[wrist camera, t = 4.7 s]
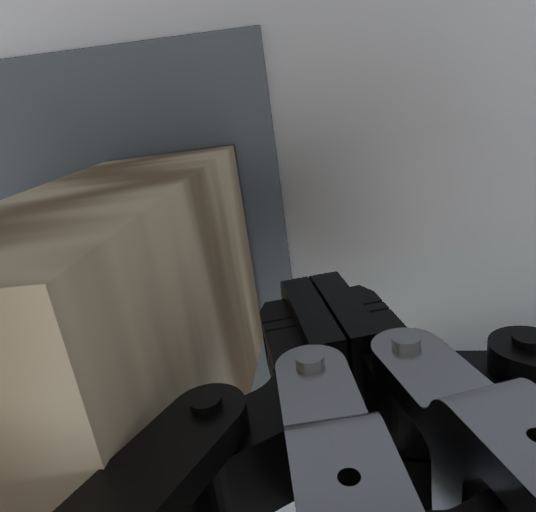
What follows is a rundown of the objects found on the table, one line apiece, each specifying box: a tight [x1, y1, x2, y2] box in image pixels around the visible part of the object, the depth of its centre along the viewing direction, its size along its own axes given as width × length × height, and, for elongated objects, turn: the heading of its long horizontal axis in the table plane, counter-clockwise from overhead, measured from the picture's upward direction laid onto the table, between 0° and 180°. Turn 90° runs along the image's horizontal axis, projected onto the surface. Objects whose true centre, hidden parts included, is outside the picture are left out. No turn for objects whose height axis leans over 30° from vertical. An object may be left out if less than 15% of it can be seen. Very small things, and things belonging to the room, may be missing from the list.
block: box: [0, 144, 263, 512], centre depth 13 cm, size 5×8×13 cm, turn 8°
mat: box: [0, 25, 292, 392], centre depth 19 cm, size 20×16×1 cm
